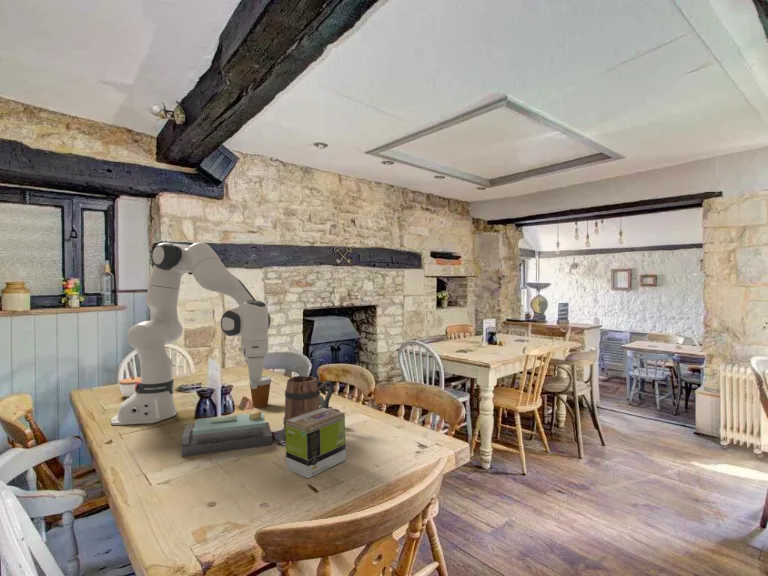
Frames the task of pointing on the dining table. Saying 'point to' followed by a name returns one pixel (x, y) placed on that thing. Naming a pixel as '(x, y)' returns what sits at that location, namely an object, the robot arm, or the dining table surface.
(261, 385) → the disposable coffee cup
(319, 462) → the tea box
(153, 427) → the dining table surface
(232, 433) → the base
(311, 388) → the tankard
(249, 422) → the plate
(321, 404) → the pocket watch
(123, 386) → the lidded jar
